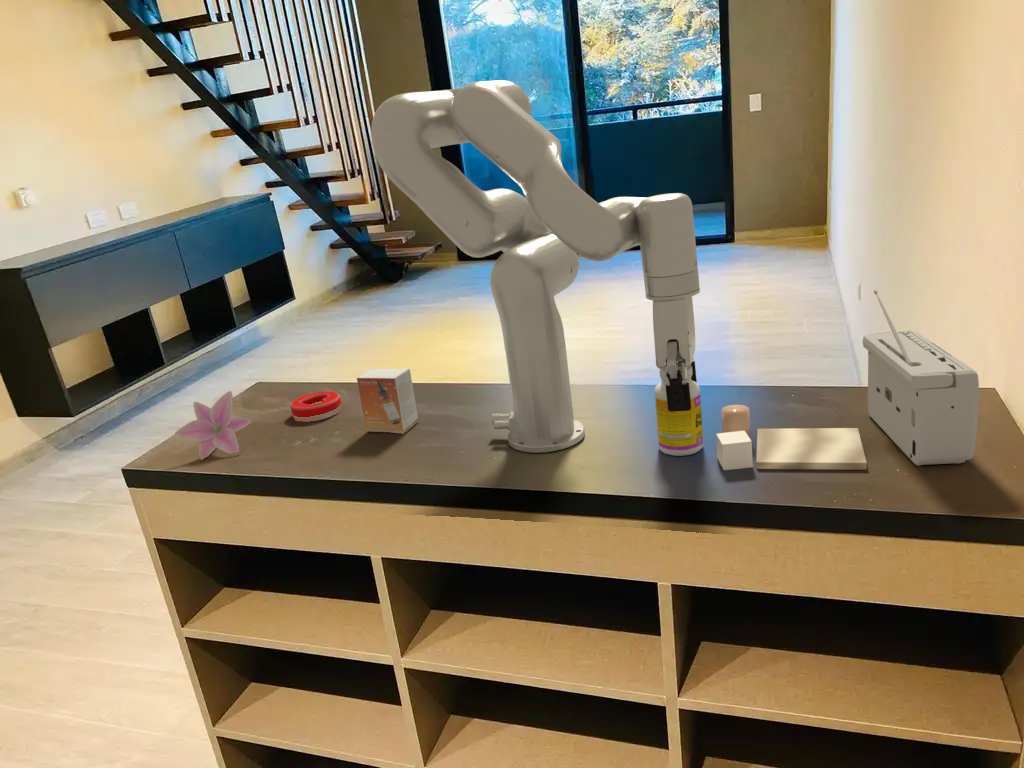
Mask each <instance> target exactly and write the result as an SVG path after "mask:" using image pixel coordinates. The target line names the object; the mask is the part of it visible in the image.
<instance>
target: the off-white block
mask: <svg viewBox="0 0 1024 768" xmlns="http://www.w3.org/2000/svg"><path fill="white" fill-rule="evenodd" d="M715 438H716V439H715V440H716V455H717V456H716V457H717V461H718V460H719V461H718V462H719V464H720V466H721V468H722V470H723V471H730V470H731V471H732V470H740V469H748V468H750V469H751V468H753V467H754V466H753V463H754V462H753V442H752V441H753V440H752V439H751V440H750V438H749V437H748V435H747V434H746V432H745V431H736V432H727V433H723V432H719V433H716V434H715Z"/></svg>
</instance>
